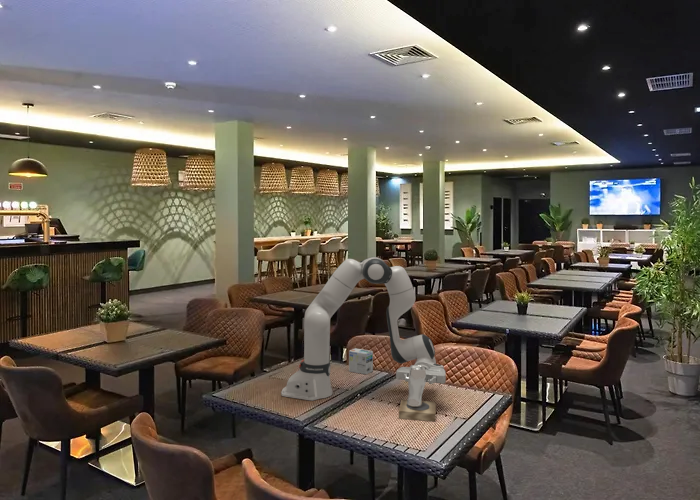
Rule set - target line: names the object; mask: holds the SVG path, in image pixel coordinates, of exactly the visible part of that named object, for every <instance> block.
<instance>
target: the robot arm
mask: <svg viewBox="0 0 700 500" xmlns="http://www.w3.org/2000/svg"><path fill="white" fill-rule="evenodd" d="M407 272H408V271H406V269H405V268H404V267H403V266H401V265H394V266H389V265H388V264H387V263H386V262H385V261H384V260H383V259H382V258H380V257H377V256H369V257H367V258H364V259H363V260H360V261H358V260H356V259H354V258H347V259H344V261H342V263H341V264H340V265H339V266H338V267H337V268H336V269H335V271H334V272H333V273H332V275H331V276H330V278H329V279H328V280H327V282H326V283H325V285H324V286H323V287H322V289H321V290H320V291H319V293H318V294H317V295H316V296H315V298H314V299H313V300H312V302H311V303H310V304H309V306H308V307H306V310H305V312H304V317H303V318H304V319H303V333H304V334H303V335H304V336H303V341H304V342H303V343H304V344H303V347H304V349H303V350H304V351H303V352H304V354H303V359H301V361H300V363H299V364H298V368H299V370H297V371H296V372H295V373H293V374H292V375H291V376H290V377H289V378H288V379H287V382H286V386H285V387H283V388H282V389H281V392H280V393H281V394H280V395H281V396H282V397H287V398H290V399H291V398H293V399H298V400H305V401H310V402H312V401H316V400H319V399H326V398H328V397H331V396H332V395H333V389H332V384H331V377H330V375H331V368H332V367H331V361H330V343H331V342H330V340H331V339H330V338H331V318H332V317H333V315H335V313H336V312H337V311H338V310H339V308H341V306H342V305H343V304H344V302H345V301H346V300H347V298H349V295H350V294H351V293H352V291H353V290H354V288H355V287H356V286H357V284H358V283H359V282H360V281H362V280H366V281H367V282H368V283H371V284H375V285H377V284H384V285H385V287H386V289H387V292H388V297H389V305H388V306H387V307H386V310H385V311H386V321H387V322H386V323H387V329H388V334H389V342H390V355H391V357H392V360H393V361H394V362H396V363H398V364H399V365H401V364H404V363H408V362H410V361H414V360H416V361H415V363H414V365H419V366H423V367H426V368H427V369H426V382H425V383H428V384H429V385H433V384H441V385H442V384H446V380H447V379H446V376H447V375H446V373H447V372H446V369H445V368H444V365H442V364H438V363H437V361H436V357H435V355H436V350H435V347H434V343H433V341H432V339H431V338H430V337H429V336H428V335H426V334H423V333H422V334H419V335H414V336H412V337H411V336H410V337H408V338H404V339H401V338H400V333H399V327H398V321H399V319H400V317H401V316H403V314H405V313H406V312H408V311H409V310H410V309H412V307H413V306H414V304H415V302H416V293H415V289H414V287H413V284H412V281H411V279H410V277H409V274H408V273H407ZM409 370H410V366H401V367H399V368H397V369H396V371H395V378H396V379H397V380H402V381H404V383H405V382H408V376H409Z"/></svg>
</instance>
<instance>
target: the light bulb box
mask: <svg viewBox="0 0 700 500" xmlns="http://www.w3.org/2000/svg"><path fill="white" fill-rule="evenodd" d="M373 363H374V351H373V350H368V349H362V348H356V347H355V348H352V349H350V350H349V351H348V372H352V373H357V374H360V373H361V375H365V374H367V375H369V374H371V373H373V372H374V364H373ZM368 373H369V374H368Z"/></svg>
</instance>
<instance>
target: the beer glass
mask: <svg viewBox="0 0 700 500" xmlns="http://www.w3.org/2000/svg"><path fill="white" fill-rule="evenodd" d="M409 367H410V370H409V376H408V383H407V385H408V387H407V388H408V397H407V399H406V400H407V404H408V405H409V406H413V407H421V406H422V401H423V400H422V399H423V393H424V390H425V386H426V383H427V382H426V369H427V368H426V367H423V366H419V365H415V364H414V365H413V364H411V365H410V366H409Z"/></svg>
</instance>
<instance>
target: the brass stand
mask: <svg viewBox="0 0 700 500" xmlns="http://www.w3.org/2000/svg"><path fill="white" fill-rule="evenodd" d="M407 400H408V399H404V398H403V399H402V398H401V400H400V405H399V409H398V419H401V420H413V421H424V422H436V411H437V410H436V409H437V408H436V406H437V402H436V401H431V400H430V401H429V400H428V401H427V400H422V406H421V407H413V406H409V405H408V404H407Z"/></svg>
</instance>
